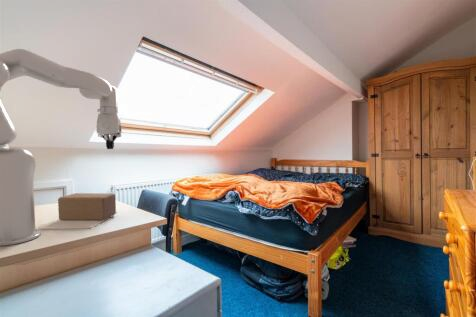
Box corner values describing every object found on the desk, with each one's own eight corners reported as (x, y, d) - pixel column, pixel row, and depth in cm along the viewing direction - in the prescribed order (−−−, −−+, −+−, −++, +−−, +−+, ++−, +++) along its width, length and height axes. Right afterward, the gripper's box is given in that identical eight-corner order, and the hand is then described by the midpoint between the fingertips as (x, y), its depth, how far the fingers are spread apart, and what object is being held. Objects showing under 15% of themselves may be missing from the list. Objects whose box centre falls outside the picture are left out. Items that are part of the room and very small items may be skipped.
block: (116, 193, 106) (74, 193, 107) (102, 197, 96) (56, 197, 97) (116, 214, 107) (75, 214, 108) (103, 221, 97) (57, 220, 98)
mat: (38, 229, 89) (38, 228, 89) (74, 213, 111) (74, 212, 111) (92, 228, 90) (91, 226, 90) (117, 212, 112) (117, 211, 112)
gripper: (88, 110, 108) (90, 149, 109) (121, 110, 109) (122, 148, 110) (97, 112, 116) (98, 149, 117) (127, 112, 117) (128, 148, 118)
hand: (110, 148), depth 113 cm, fingers closed
